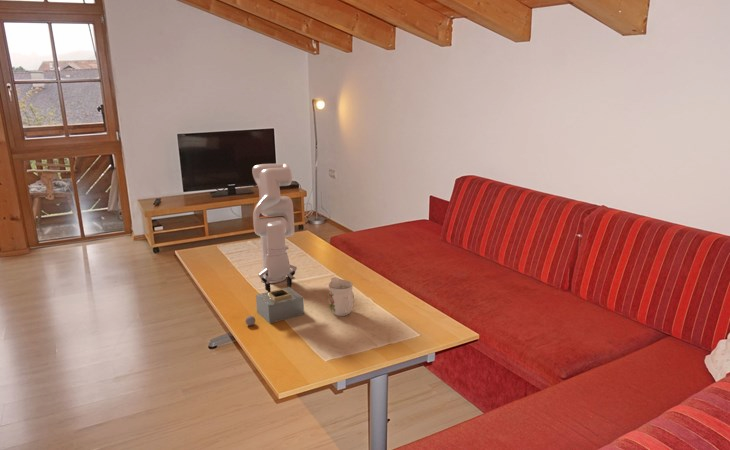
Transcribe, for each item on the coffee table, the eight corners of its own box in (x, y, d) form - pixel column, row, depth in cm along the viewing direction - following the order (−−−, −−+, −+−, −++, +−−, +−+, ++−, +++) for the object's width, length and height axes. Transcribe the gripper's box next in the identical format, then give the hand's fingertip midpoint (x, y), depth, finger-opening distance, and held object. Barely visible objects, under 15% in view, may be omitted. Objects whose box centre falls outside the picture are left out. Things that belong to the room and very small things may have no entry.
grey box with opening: (290, 303, 246) (289, 284, 244) (304, 314, 235) (303, 294, 232) (257, 311, 238) (255, 292, 235) (269, 323, 227) (268, 303, 224)
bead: (246, 313, 225) (242, 321, 225) (250, 316, 222) (245, 325, 222) (254, 315, 228) (250, 324, 227) (258, 319, 224) (254, 328, 224)
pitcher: (339, 324, 225) (338, 293, 221) (322, 308, 240) (321, 279, 236) (363, 319, 229) (362, 288, 226) (345, 303, 245) (344, 275, 241)
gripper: (291, 245, 236) (293, 282, 241) (253, 252, 227) (256, 290, 232) (299, 249, 230) (300, 287, 235) (260, 257, 221) (263, 296, 226)
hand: (278, 288), depth 233 cm, fingers open, 9 cm apart
